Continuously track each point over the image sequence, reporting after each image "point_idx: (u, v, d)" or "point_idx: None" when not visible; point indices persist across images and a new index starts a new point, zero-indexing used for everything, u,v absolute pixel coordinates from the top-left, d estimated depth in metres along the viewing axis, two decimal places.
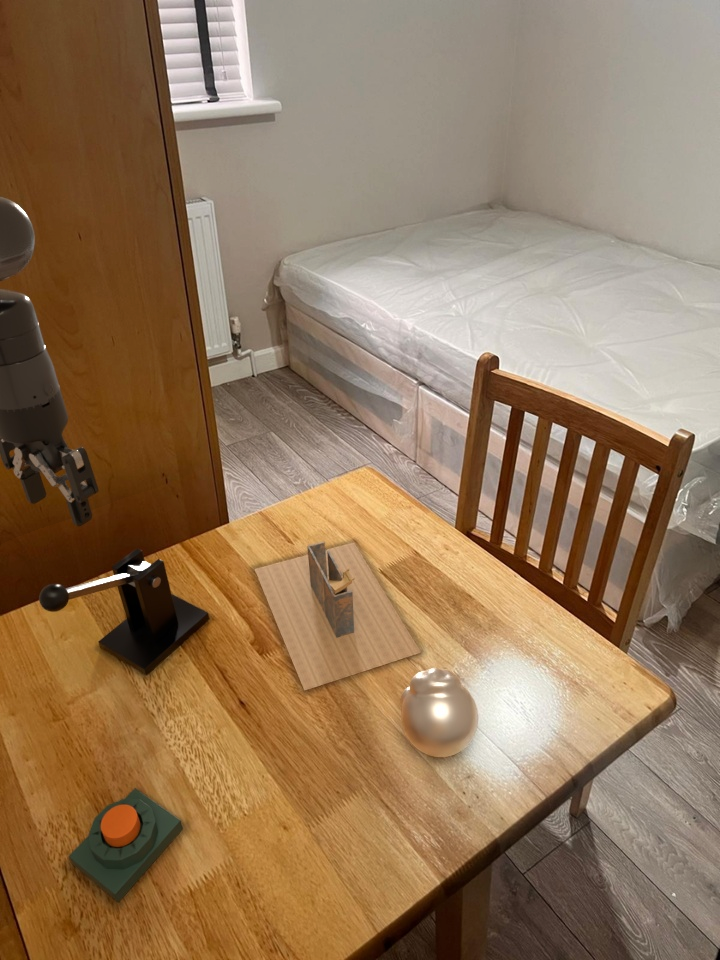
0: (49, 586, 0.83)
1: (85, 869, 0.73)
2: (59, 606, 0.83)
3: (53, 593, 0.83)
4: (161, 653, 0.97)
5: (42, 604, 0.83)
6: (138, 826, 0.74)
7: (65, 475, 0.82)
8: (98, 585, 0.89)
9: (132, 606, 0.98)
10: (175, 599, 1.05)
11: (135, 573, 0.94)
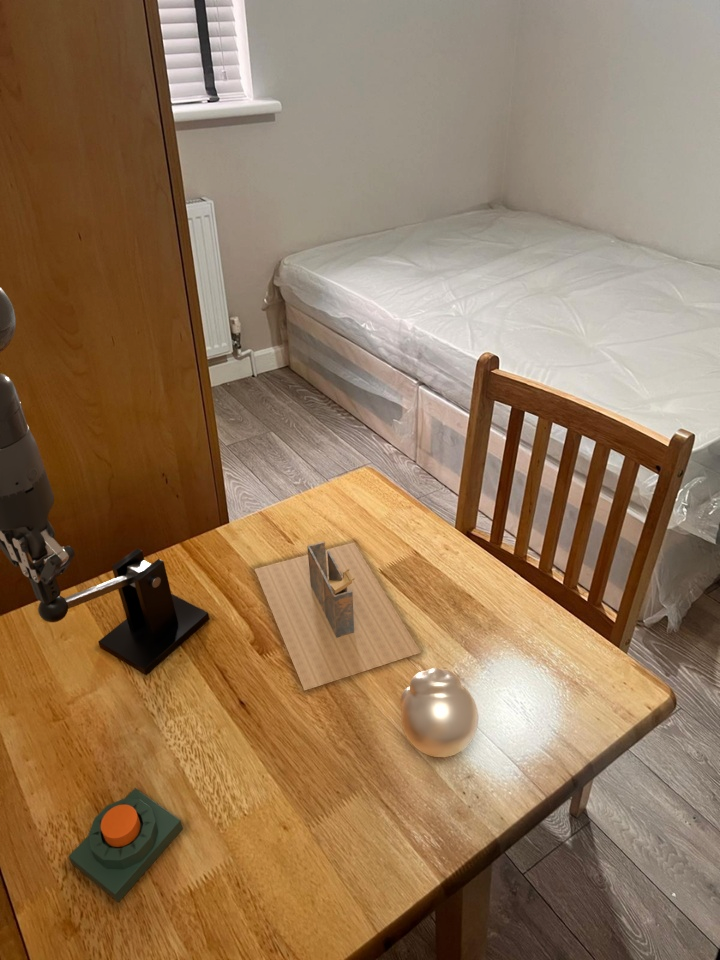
0: None
1: (85, 869, 0.73)
2: (58, 617, 0.84)
3: (51, 605, 0.83)
4: (161, 653, 0.97)
5: (42, 616, 0.83)
6: (138, 826, 0.74)
7: (41, 560, 0.79)
8: (97, 591, 0.89)
9: (132, 606, 0.98)
10: (175, 599, 1.05)
11: (134, 574, 0.94)
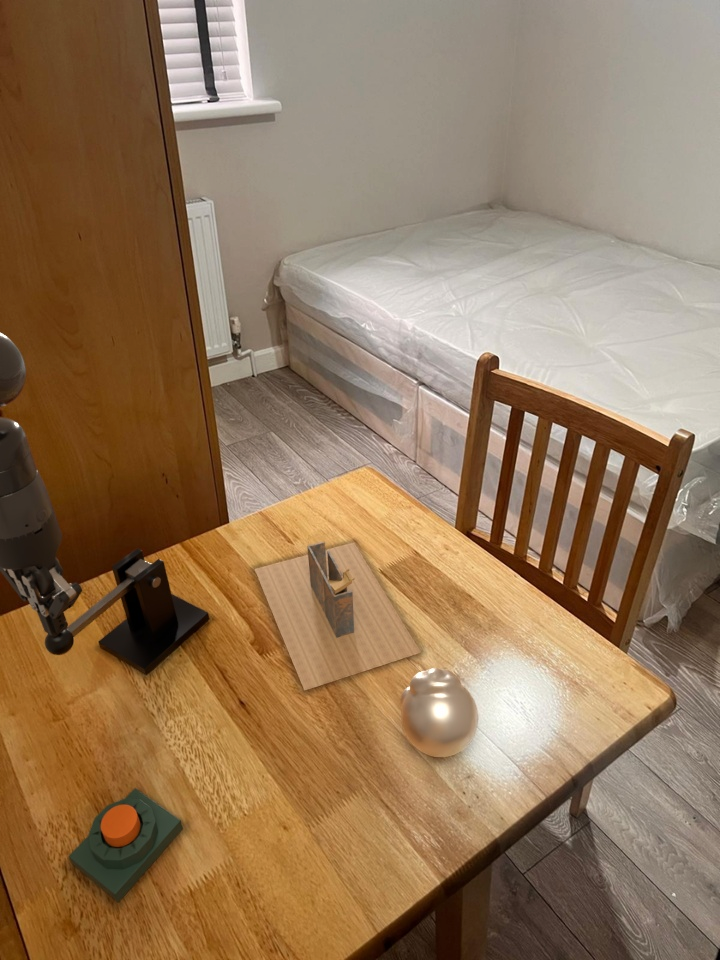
0: (50, 635, 0.86)
1: (85, 869, 0.73)
2: (66, 650, 0.86)
3: (55, 642, 0.85)
4: (161, 653, 0.97)
5: (50, 652, 0.86)
6: (138, 826, 0.74)
7: (49, 595, 0.81)
8: (99, 610, 0.90)
9: (132, 606, 0.98)
10: (175, 599, 1.05)
11: None
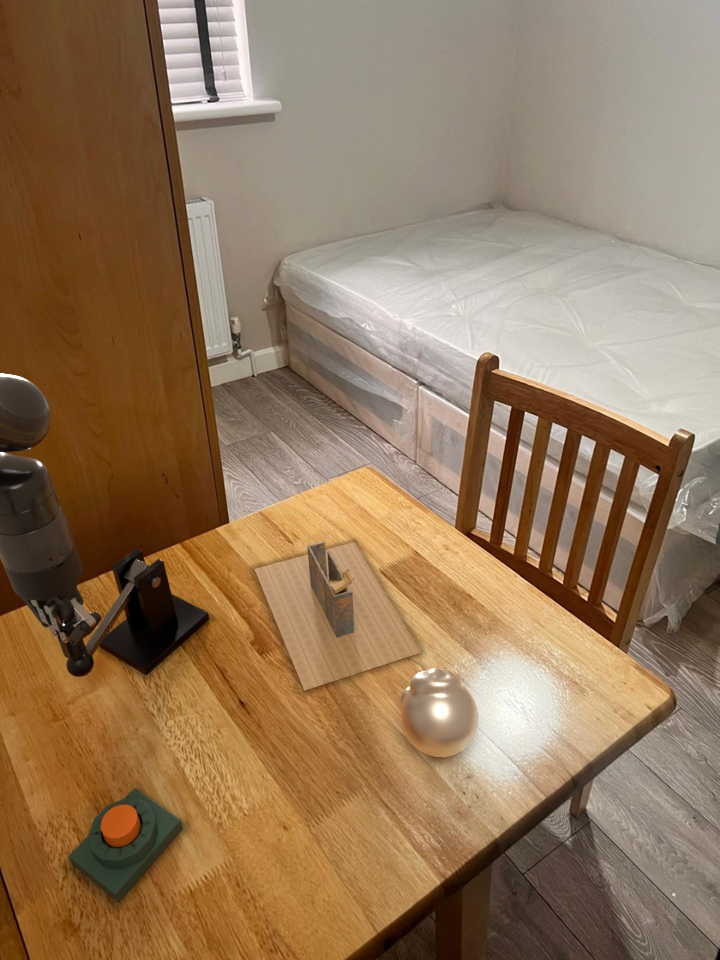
0: (68, 663, 0.90)
1: (85, 869, 0.73)
2: (88, 672, 0.90)
3: (75, 669, 0.89)
4: (161, 653, 0.97)
5: (75, 675, 0.91)
6: (138, 826, 0.74)
7: (69, 623, 0.85)
8: (109, 624, 0.92)
9: (132, 606, 0.98)
10: (175, 599, 1.05)
11: (134, 583, 0.94)
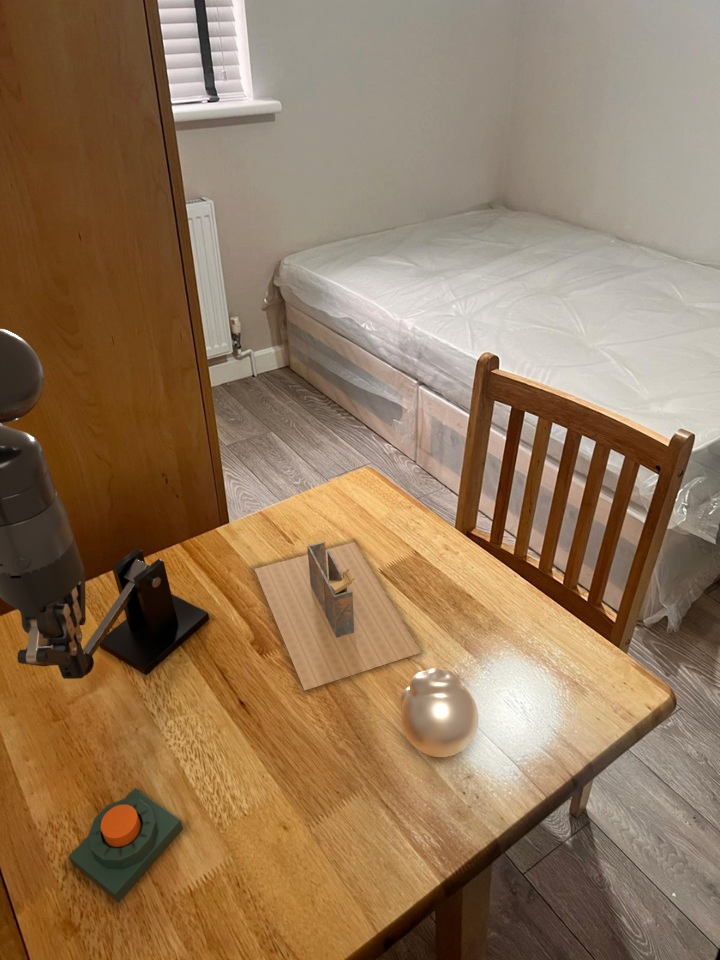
0: None
1: (85, 869, 0.73)
2: (88, 672, 0.90)
3: None
4: (161, 653, 0.97)
5: None
6: (138, 826, 0.74)
7: (51, 639, 0.70)
8: (109, 624, 0.92)
9: (132, 606, 0.98)
10: (175, 599, 1.05)
11: (134, 583, 0.94)
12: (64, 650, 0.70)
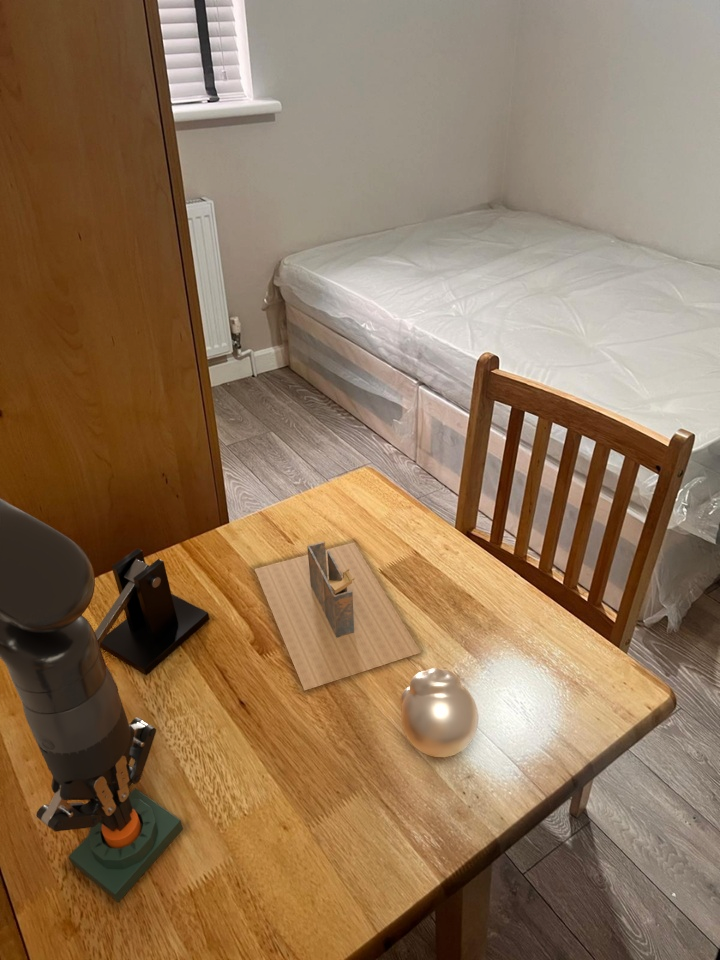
0: None
1: (85, 869, 0.73)
2: None
3: None
4: (161, 653, 0.97)
5: None
6: (139, 828, 0.75)
7: None
8: (109, 624, 0.92)
9: (132, 606, 0.98)
10: (175, 599, 1.05)
11: (134, 583, 0.94)
12: (98, 809, 0.70)
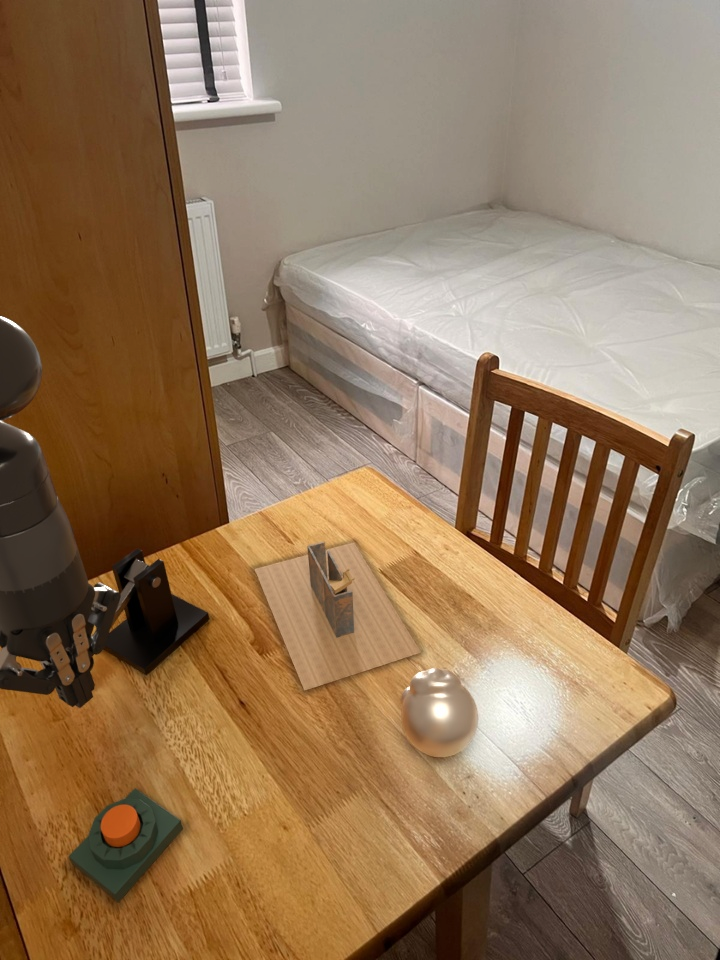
0: None
1: (85, 869, 0.73)
2: None
3: None
4: (161, 653, 0.97)
5: None
6: (138, 826, 0.74)
7: None
8: None
9: (132, 606, 0.98)
10: (175, 599, 1.05)
11: (134, 583, 0.94)
12: (53, 676, 0.63)
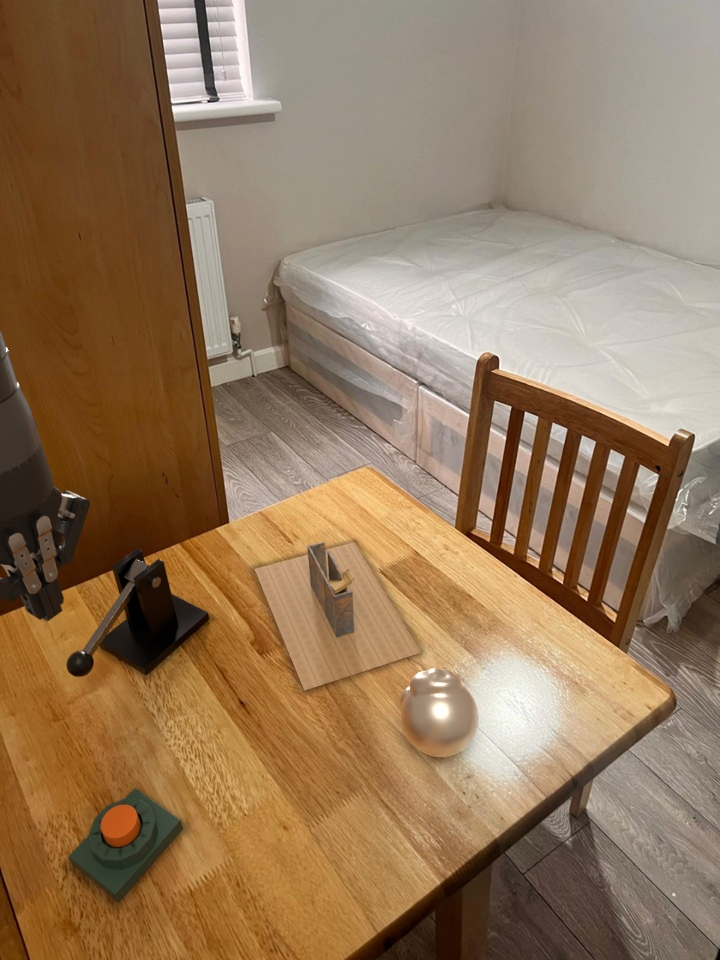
0: (68, 663, 0.90)
1: (85, 869, 0.73)
2: (88, 672, 0.90)
3: (75, 669, 0.89)
4: (161, 653, 0.97)
5: (75, 675, 0.91)
6: (138, 826, 0.74)
7: (7, 566, 0.60)
8: (109, 624, 0.92)
9: (132, 606, 0.98)
10: (175, 599, 1.05)
11: (134, 583, 0.94)
12: (18, 583, 0.60)
